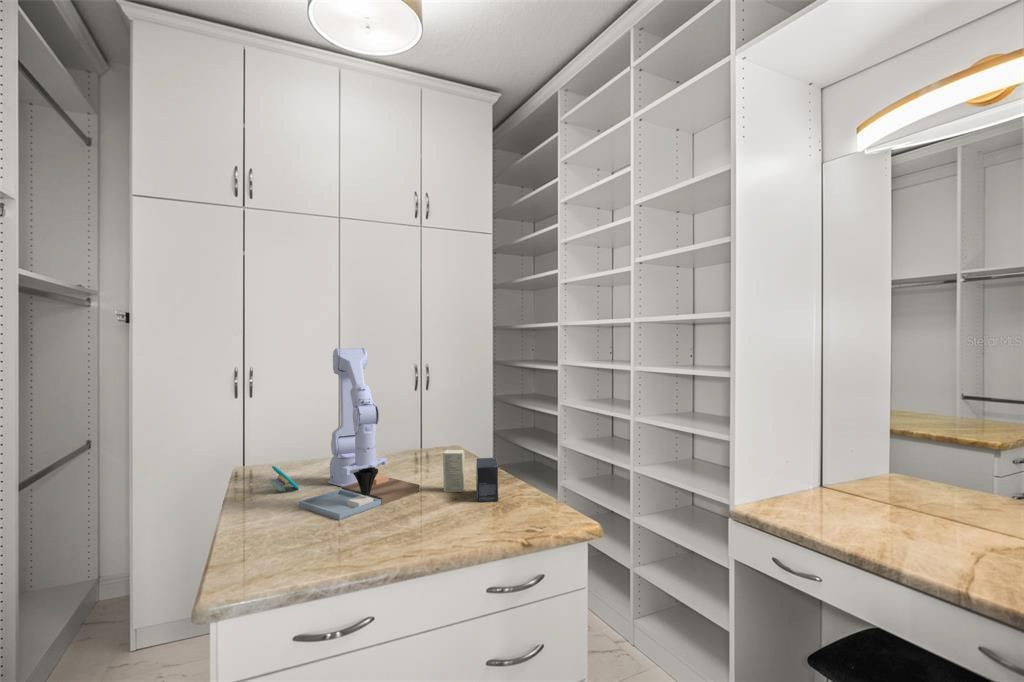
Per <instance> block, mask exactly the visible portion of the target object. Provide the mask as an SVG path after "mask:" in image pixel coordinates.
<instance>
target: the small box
mask: <svg viewBox="0 0 1024 682" xmlns="http://www.w3.org/2000/svg"><path fill="white" fill-rule="evenodd" d="M475 467H476V468H475V469H476V471H475V474H476V475H475V476H476V477H475V482H476V485H475V487H476V501H477V503H492V502H493V503H495V502H496V503H498V502H499V479H498V478H499V475H498V474H499V465H498V460H497V457H478V458H477V457H476V466H475Z"/></svg>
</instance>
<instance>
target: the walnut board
mask: <svg viewBox="0 0 1024 682" xmlns="http://www.w3.org/2000/svg"><path fill="white" fill-rule="evenodd" d="M420 486H421V485H420V484H417V483H414V482H413V483H412V482H410V481H405V480H401V479H396V478H392V477H389V481H386V482H383V483H380V484H377V485H376V484H372V487H371V491H370V495H367V496H369V497H373V498H376V499H380V500H381V505H380V506H383V505H386V504H388V503H391V502H394V501H396V500H397V501H398V500H399V499H403V498H404V497H407V496H410V495H414V494H416V493H419V492H420V491H421V489H420ZM340 489H343V490H347V491H351V492H354V493H358V494H361V490H360V486H359V484H358V482H356V483H353V484H349V485H346V486H343V487H342V486H340Z"/></svg>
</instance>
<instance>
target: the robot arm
mask: <svg viewBox="0 0 1024 682" xmlns="http://www.w3.org/2000/svg"><path fill="white" fill-rule="evenodd" d="M367 365H368V352H367V349H366V348H365V347H361V348H338V347H336V348H334V350H333V352H332V371H333V374H336V375H337V376H338V378H339V392H340V393H339V394H340V395H339V397H340V401H339V402H340V425H339V426H338V427H337V428H336V429H334V430H333V432H332V433H331V440H330V441H331V443H330V449H331V454H332V455H333V456H332V457H331V459H330V462H329V481H327V484H330V485H334V486H338V487H343V486H346V485H349V484H353V483H356V482H358V484H359V486H360V490H361V494H362V495H365V496H367V495H370V491H371V487H372V484H373V481H374V479H375V477H376V475H377V474H379V469H378V467H380V466H386V465H388V457H384V456H381V457H377V425H378V423H379V420H380V412H379V408H378V405H377V404H376V401H374V400H373V396H372V392H371V388H370V386H369V385H367V384H365V383H366V381H365V375H364V370H365V369H366V367H367ZM376 467H377V468H376Z"/></svg>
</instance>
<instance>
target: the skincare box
mask: <svg viewBox="0 0 1024 682" xmlns="http://www.w3.org/2000/svg"><path fill="white" fill-rule="evenodd" d="M442 459H443V460H442V466H443V467H442V468H443V469H442V470H443V473H442V474H443V492H445V493H451V492H452V493H464V491H465V488H466V464H465V463H466V462H465V461H466V460H465V449H446V450H444V451H443V453H442Z"/></svg>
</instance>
